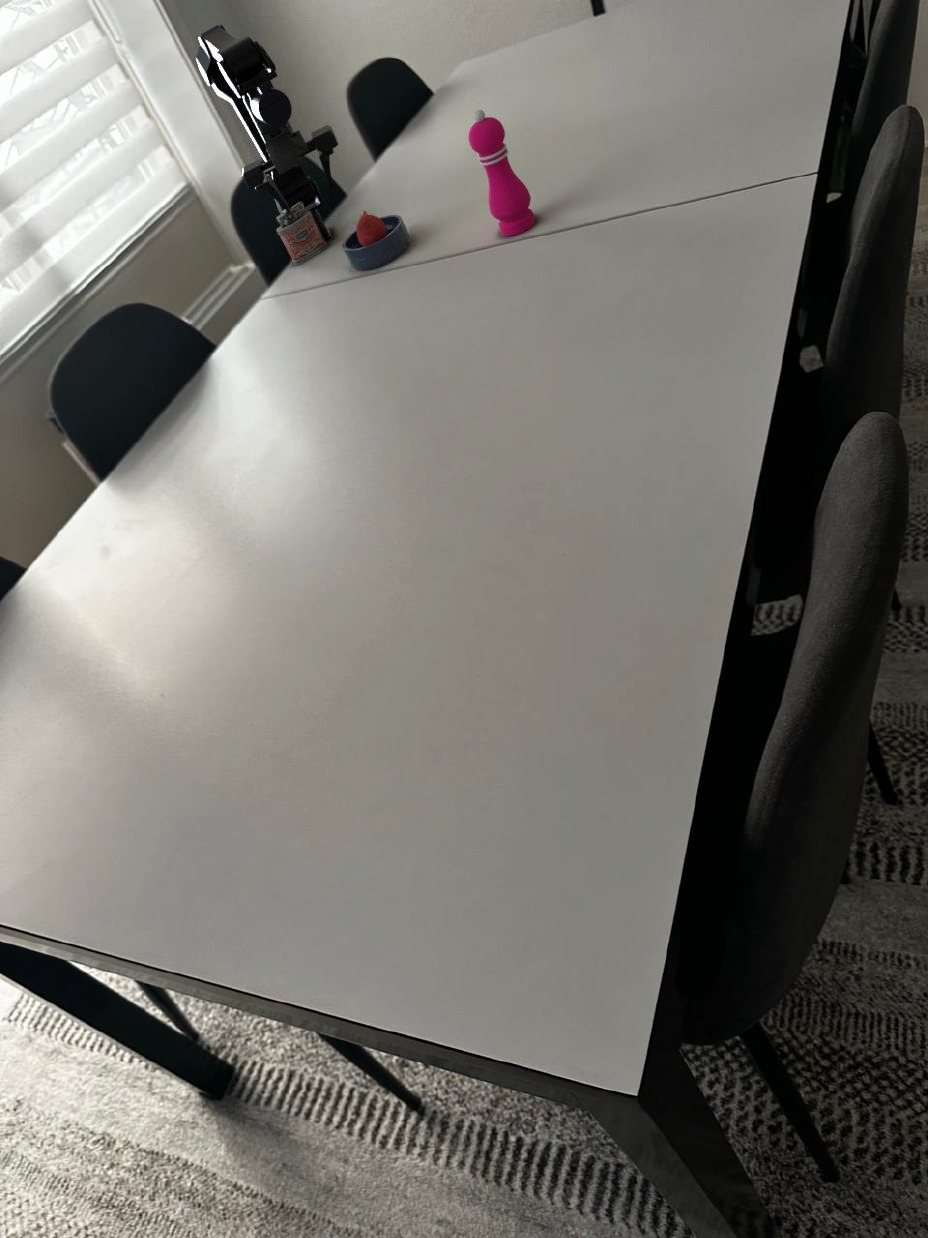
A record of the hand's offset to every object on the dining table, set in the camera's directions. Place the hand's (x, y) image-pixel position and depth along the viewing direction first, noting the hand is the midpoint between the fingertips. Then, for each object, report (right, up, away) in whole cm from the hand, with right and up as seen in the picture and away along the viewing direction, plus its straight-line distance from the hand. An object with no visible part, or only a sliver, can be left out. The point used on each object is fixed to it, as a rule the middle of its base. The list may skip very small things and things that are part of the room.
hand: (311, 201), depth 177 cm
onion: (+13, -10, +1) cm, 16 cm away
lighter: (-3, -4, +16) cm, 17 cm away
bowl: (+13, -10, +1) cm, 17 cm away
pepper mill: (+39, -11, -15) cm, 43 cm away
